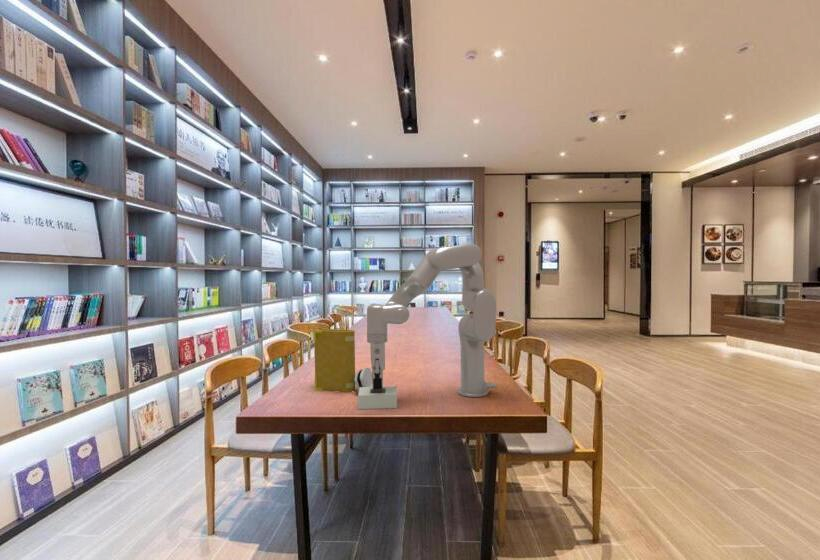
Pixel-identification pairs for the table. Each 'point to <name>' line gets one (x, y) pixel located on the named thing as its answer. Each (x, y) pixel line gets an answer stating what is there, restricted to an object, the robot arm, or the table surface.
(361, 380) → the hinge
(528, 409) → the table surface
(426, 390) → the table surface
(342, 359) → the book
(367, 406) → the socket block
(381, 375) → the pin
